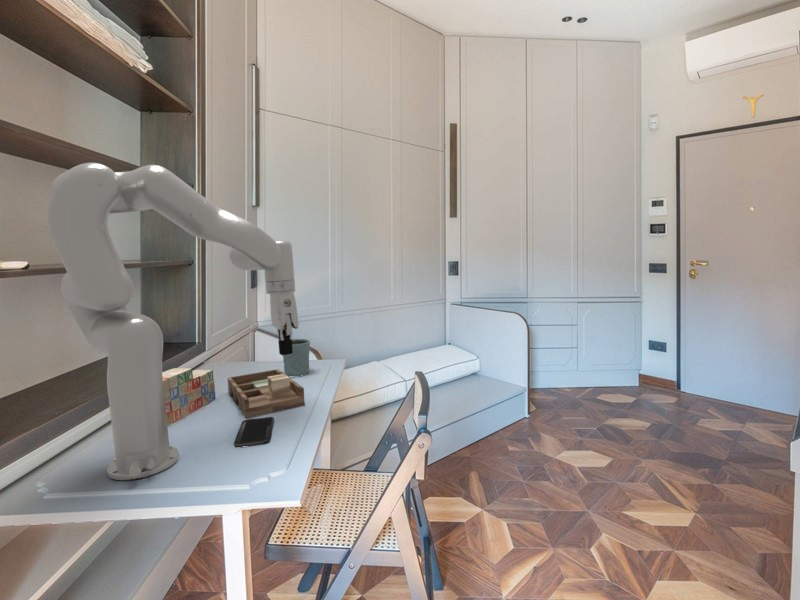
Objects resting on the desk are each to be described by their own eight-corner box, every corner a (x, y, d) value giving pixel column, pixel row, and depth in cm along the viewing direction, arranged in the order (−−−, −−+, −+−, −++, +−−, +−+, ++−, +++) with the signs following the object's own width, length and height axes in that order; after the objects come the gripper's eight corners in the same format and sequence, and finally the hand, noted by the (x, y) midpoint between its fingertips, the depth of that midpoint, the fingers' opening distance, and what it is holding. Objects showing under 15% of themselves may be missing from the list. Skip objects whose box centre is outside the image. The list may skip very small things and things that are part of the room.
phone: (232, 445, 92) (242, 419, 107) (233, 449, 92) (243, 424, 107) (269, 440, 94) (274, 416, 109) (270, 445, 94) (275, 420, 109)
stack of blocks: (197, 399, 127) (194, 359, 126) (216, 399, 126) (212, 360, 125) (143, 427, 107) (138, 380, 105) (164, 428, 105) (159, 381, 104)
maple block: (290, 394, 120) (289, 377, 120) (273, 397, 118) (272, 380, 117) (285, 390, 125) (284, 373, 124) (268, 393, 122) (267, 376, 122)
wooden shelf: (304, 405, 118) (303, 388, 118) (246, 418, 110) (244, 400, 109) (279, 383, 140) (278, 369, 140) (228, 393, 132) (227, 377, 131)
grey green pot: (288, 370, 157) (286, 339, 156) (314, 369, 156) (312, 338, 155) (279, 378, 147) (277, 344, 146) (307, 377, 146) (305, 343, 145)
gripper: (303, 287, 107) (308, 356, 109) (286, 284, 120) (291, 347, 122) (274, 290, 103) (280, 362, 105) (259, 287, 116) (265, 351, 118)
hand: (286, 353), depth 113 cm, fingers closed
